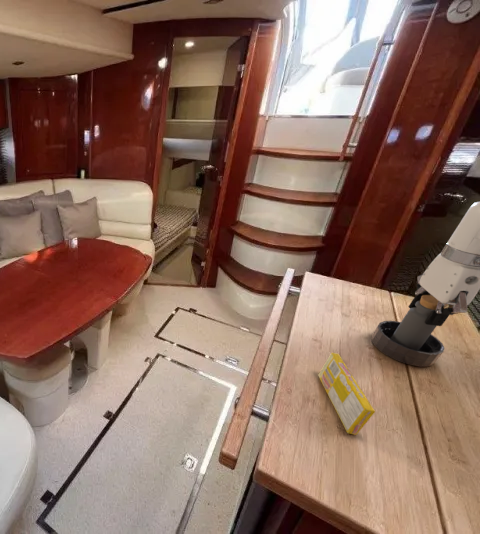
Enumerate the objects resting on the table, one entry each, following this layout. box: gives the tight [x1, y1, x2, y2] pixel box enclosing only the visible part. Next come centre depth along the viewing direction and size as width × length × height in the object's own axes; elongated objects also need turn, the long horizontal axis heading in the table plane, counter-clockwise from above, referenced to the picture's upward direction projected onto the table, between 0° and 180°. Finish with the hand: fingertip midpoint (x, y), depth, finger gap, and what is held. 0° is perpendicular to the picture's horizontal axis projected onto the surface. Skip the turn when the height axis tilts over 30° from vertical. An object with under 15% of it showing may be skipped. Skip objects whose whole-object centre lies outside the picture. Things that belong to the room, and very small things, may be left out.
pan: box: [370, 320, 445, 367], centre depth 84 cm, size 13×13×5 cm
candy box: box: [317, 352, 376, 436], centre depth 69 cm, size 16×2×8 cm, turn 165°
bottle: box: [391, 295, 449, 351], centre depth 80 cm, size 6×6×15 cm
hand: (424, 315), depth 79 cm, fingers closed on bottle, 5 cm apart
